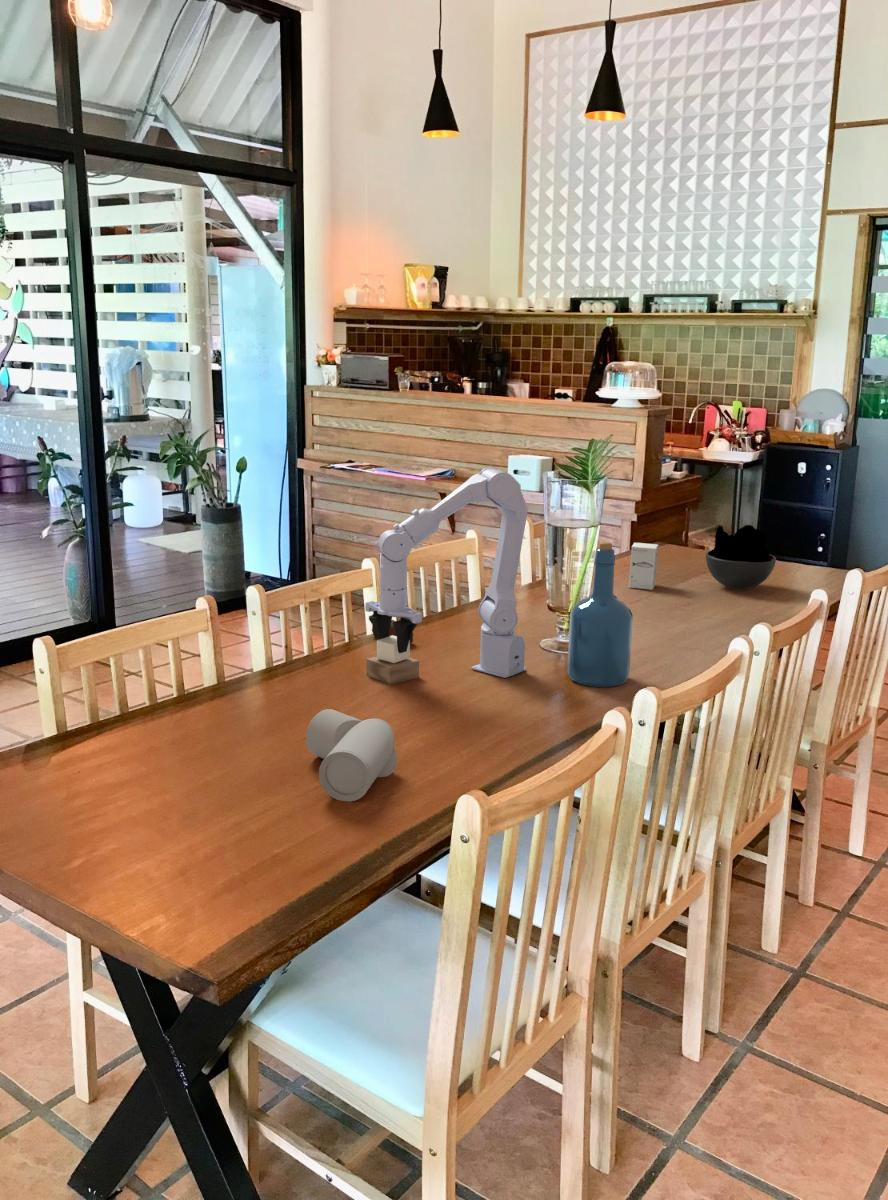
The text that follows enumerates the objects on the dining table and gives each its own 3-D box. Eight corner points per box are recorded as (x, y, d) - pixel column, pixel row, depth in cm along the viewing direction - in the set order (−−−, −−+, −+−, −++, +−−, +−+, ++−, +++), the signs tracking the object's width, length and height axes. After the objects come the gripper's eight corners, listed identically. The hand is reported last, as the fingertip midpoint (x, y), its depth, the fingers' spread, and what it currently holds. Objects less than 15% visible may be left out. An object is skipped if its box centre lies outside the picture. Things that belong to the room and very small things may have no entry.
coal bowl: (780, 587, 311) (786, 525, 306) (762, 600, 294) (768, 535, 290) (715, 577, 321) (720, 518, 316) (693, 590, 304) (699, 527, 300)
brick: (371, 637, 251) (371, 619, 250) (383, 634, 254) (383, 616, 252) (401, 647, 243) (401, 628, 242) (413, 644, 246) (413, 625, 245)
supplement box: (627, 588, 305) (630, 546, 302) (631, 582, 312) (633, 541, 309) (653, 590, 303) (656, 548, 300) (655, 585, 310) (658, 543, 307)
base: (418, 678, 222) (419, 660, 221) (389, 685, 217) (389, 667, 216) (395, 669, 228) (395, 651, 227) (366, 676, 223) (366, 658, 222)
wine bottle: (627, 691, 216) (637, 550, 208) (564, 686, 218) (571, 546, 211) (629, 671, 229) (638, 538, 221) (569, 666, 231) (576, 534, 224)
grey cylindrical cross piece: (433, 770, 172) (351, 738, 185) (424, 715, 168) (341, 686, 181) (356, 825, 160) (275, 787, 174) (345, 768, 156) (262, 733, 169)
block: (409, 657, 222) (409, 639, 221) (393, 663, 218) (393, 645, 217) (392, 652, 225) (392, 635, 224) (376, 658, 221) (376, 640, 220)
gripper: (355, 585, 219) (355, 646, 223) (406, 596, 210) (405, 660, 214) (378, 579, 224) (378, 639, 228) (428, 590, 216) (427, 653, 219)
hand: (392, 649), depth 221 cm, fingers closed on block, 5 cm apart
